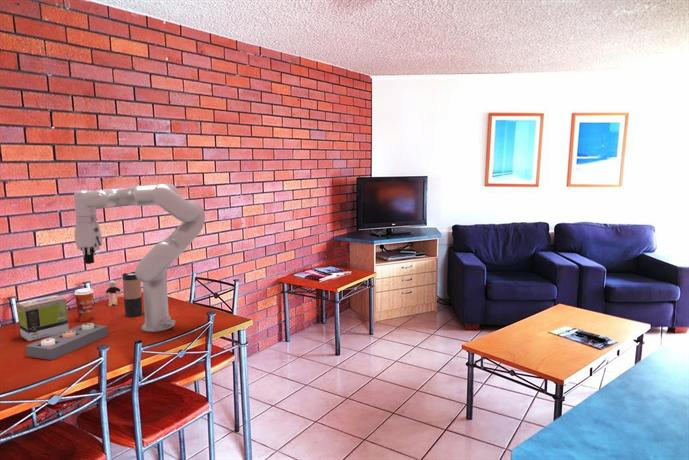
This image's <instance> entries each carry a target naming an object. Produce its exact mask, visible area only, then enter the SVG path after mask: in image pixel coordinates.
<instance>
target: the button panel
mask: <svg viewBox="0 0 689 460" xmlns="http://www.w3.org/2000/svg"><path fill="white" fill-rule="evenodd" d="M83 324H84V323H82V324H80V325H76V326H75V327H72V328H70V329H69V330H66V331H70V330H74V331H75V333H76V336H74V337H71V338H69V339H68V338H63V337H62V333H63V332H61V333H58V334H55V335H51V336H48V337H44V338H42V339H40V340H38V341H35V342H33V343H29V344H27V345H25V351H26V354H25V355H26V357H29V358H36V359H41V360H49V361H53V360H55V359H57V358H61V357H62V356H65V355H66V354H69V353H72V352H74V351H76V350H78V349H81V348H83V347H85V346H87V344H88V345H90V344H92V343H94V342H96V341H99V340H102V339H103V338H106V337H107V336H109V327H108V325H99V324H94V329H91V330H89V331H86V330H82V325H83ZM64 332H65V331H64ZM49 338H54V339H55V344H54V345H51V346H49V347H43V346H41V341H42V340H44V339H49Z"/></svg>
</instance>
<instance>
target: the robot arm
mask: <svg viewBox="0 0 689 460" xmlns="http://www.w3.org/2000/svg"><path fill="white" fill-rule="evenodd" d="M73 200H74V214H75V226H74V243H75V246H76V247H77V249H78V250H80V251H82V254H83V256H84V264H85V265H89V264H94V263H95V255H94V254H96V251H100V249H101V246H102V245H103V239H102V232H101V227H100V224H99V222H98V218H97V209H107V208H111V207H118V206H119V207H121V206H137V207H145V206H156V205H157V206H159V208H161V209H163V210H164V211H166V212H167V213H168V214H170V215H171V216H172V217H174V218H175V219H177V220H178V221H180V222H181V224H179V225H178V226H177V227H176V229H174V231H172V232H171V234H170V235H169V236H167V237H166V238H164V239H163V240H161V241H160V242H157V244H155V245H154V246H153V247H152V248H151V249H150V250H149V251H148V252H147V253H146V255H145V256H144V257H143V258H142V259H141V260H140V261H139V262H138V263H137V264H136V266H135V269H134V272H135V275H136V277H137V279H138V280H139V281H141V283H142V285H143V286H142V291H143V306H144V308H143V309H144V310H143V311H144V323H143V325H141V331H143V332H146V333H156V332H157V333H158V332H163V331H166V330H169V329H171V328H172V327H174V326H175V324H176V320H174V319H172V316H170V315H169V299H168V267H169V266H170V265H171V264H172V263H173V262H174V261H175V260H177V259H178V258H180V256H181V254H183V252H184V251H185V250H186V249H187V248H188V247H189V246H190V244H192V242H194V240H195V239H196V238H197V237H198V236H199V234H200V233H201V232H202V230H203V228H204V225H205V221H206V213H205V209H204V207H203V206H202V204H201V203H200V202H198V201H197V200H193V199H192V200H191V199H190V200H187V199H185V198H184V197H182V195H180V194H179V191H178V188H177V187H176V186H175V185H174V184H172V183H158V184H148V185H145V184H144V185H143V184H141V185H135V186H133V187H122V188H108V189H107V188H105V189H97V190H89V189H88V190H87V189H86V190H85V189H83V190H82V189H81V190H75V191H74V192H73Z"/></svg>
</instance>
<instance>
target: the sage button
mask: <svg viewBox="0 0 689 460" xmlns="http://www.w3.org/2000/svg"><path fill="white" fill-rule="evenodd" d="M82 324H83V325H82ZM82 324H81V325H82V330H86V331H89V330H91V329H94V325H95V323H92V322H91V323H89V322H88V323H82Z"/></svg>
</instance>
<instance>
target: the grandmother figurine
mask: <svg viewBox="0 0 689 460" xmlns="http://www.w3.org/2000/svg"><path fill="white" fill-rule="evenodd" d="M108 285H109V287H108V288H107V289H106V291H105V294H104V296H105V297H106V296H107V295H108V304H107V306H108V307H112V306H117V305H119V304H118V293H119V295H120V294H122V291H121V289H120V288H119V287H117V286H116V285H117V282H116V281H115V280H110V281H109V282H108ZM117 292H118V293H117Z"/></svg>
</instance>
